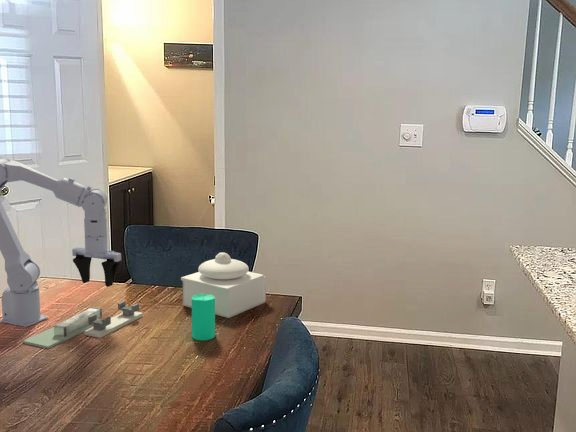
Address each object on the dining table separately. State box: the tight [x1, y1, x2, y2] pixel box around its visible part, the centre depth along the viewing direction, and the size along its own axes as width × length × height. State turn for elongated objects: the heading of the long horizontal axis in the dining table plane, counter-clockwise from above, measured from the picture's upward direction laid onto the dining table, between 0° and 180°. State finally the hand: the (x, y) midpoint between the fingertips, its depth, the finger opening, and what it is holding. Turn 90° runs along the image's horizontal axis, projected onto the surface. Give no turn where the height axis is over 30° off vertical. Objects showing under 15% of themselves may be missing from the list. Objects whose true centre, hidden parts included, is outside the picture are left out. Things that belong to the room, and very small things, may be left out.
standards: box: [83, 300, 144, 339], centre depth 169 cm, size 5×18×4 cm, turn 157°
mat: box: [22, 324, 93, 350], centre depth 161 cm, size 8×16×1 cm, turn 157°
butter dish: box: [180, 251, 267, 319], centre depth 187 cm, size 18×18×16 cm
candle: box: [191, 291, 216, 341], centre depth 162 cm, size 6×6×12 cm
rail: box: [53, 306, 103, 337], centre depth 166 cm, size 3×16×3 cm, turn 161°
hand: (97, 283), depth 172 cm, fingers open, 7 cm apart
